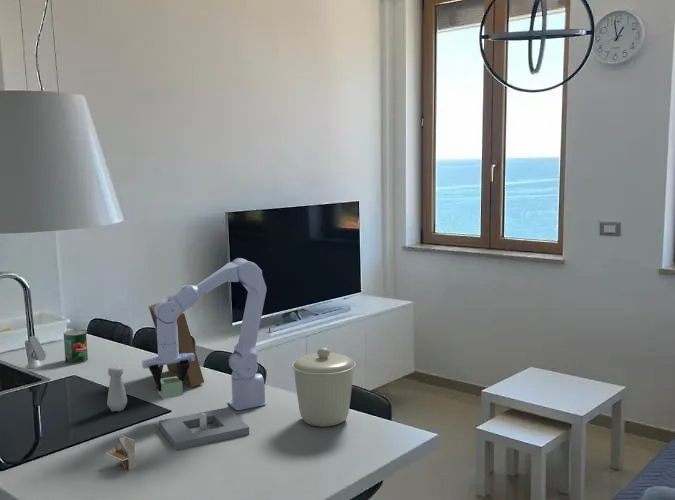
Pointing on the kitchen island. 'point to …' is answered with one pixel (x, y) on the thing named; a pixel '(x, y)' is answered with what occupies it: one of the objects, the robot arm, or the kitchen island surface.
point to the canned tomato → (75, 346)
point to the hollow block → (171, 387)
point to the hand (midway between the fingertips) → (170, 388)
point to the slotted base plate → (203, 428)
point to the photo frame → (183, 351)
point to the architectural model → (125, 452)
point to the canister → (323, 387)
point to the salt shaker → (116, 389)
